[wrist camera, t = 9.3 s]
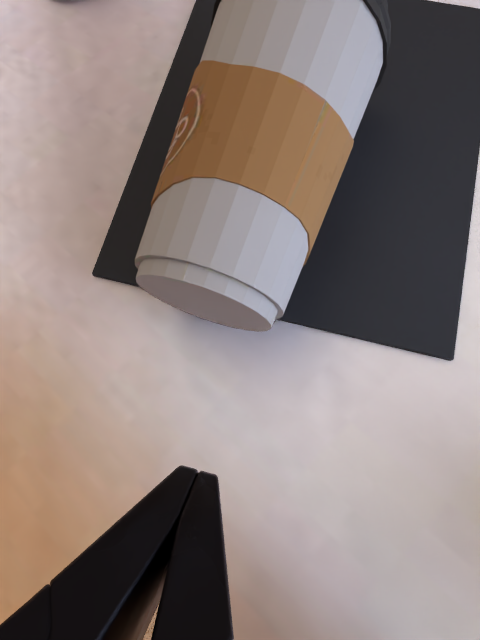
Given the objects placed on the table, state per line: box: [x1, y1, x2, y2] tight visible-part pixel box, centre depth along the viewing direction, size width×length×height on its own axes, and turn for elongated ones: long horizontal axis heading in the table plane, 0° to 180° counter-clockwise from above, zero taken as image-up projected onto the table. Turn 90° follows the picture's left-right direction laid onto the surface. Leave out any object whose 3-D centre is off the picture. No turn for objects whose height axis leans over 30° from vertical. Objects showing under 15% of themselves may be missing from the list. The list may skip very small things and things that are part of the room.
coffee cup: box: [135, 0, 391, 331], centre depth 19 cm, size 8×8×15 cm
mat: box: [92, 0, 480, 361], centre depth 25 cm, size 22×18×1 cm
